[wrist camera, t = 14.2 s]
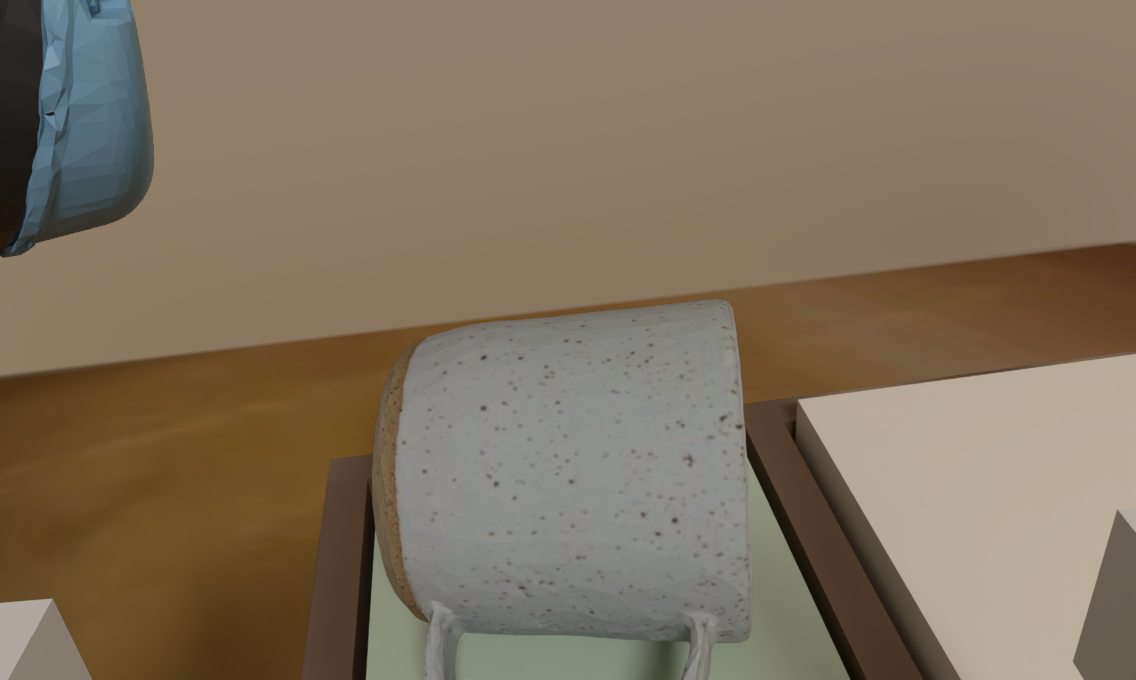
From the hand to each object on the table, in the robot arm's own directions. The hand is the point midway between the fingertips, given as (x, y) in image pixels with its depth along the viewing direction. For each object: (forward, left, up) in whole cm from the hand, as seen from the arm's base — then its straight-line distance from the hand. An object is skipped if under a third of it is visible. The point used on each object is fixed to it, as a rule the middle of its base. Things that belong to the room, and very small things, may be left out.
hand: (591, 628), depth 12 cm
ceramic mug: (-3, +7, -9) cm, 12 cm away
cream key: (+8, +14, -10) cm, 19 cm away
